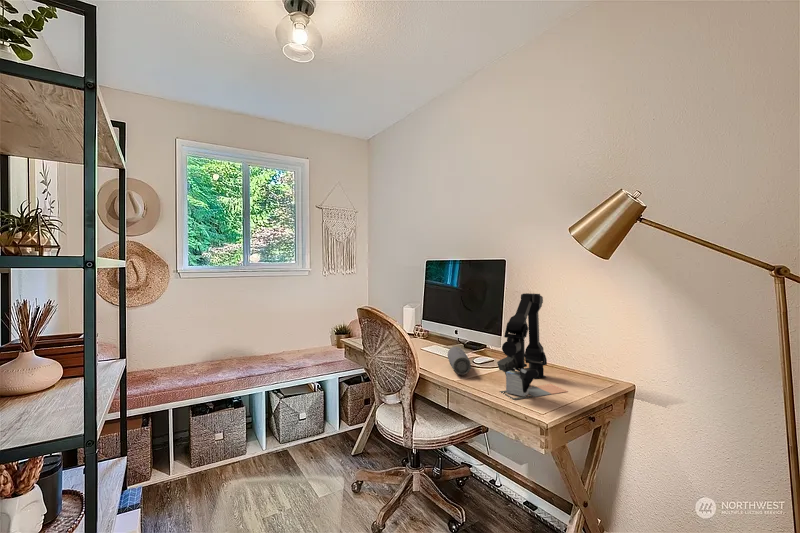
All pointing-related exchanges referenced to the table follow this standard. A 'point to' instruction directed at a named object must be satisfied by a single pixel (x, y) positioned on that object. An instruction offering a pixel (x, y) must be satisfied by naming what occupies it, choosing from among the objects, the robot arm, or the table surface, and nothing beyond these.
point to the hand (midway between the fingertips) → (517, 389)
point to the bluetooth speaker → (459, 360)
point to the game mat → (540, 391)
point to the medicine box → (514, 383)
